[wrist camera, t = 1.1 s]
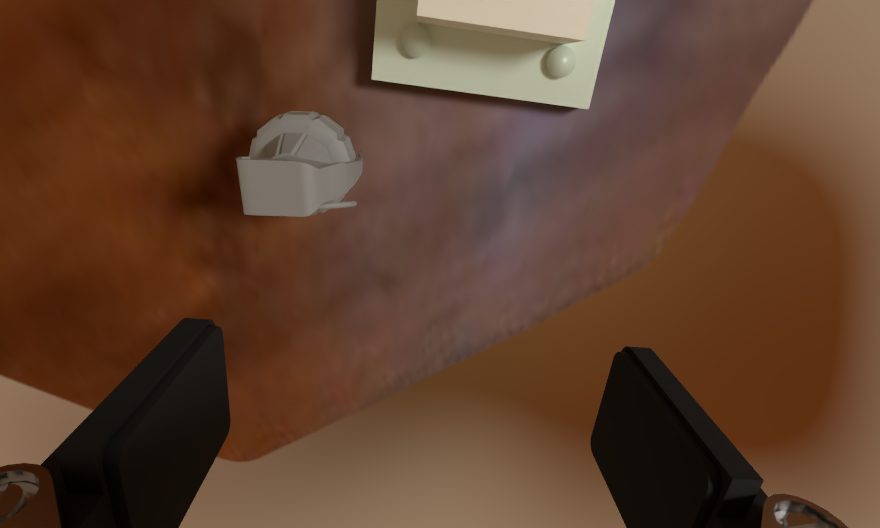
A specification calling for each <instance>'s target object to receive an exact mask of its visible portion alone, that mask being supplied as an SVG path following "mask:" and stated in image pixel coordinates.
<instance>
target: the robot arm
mask: <svg viewBox="0 0 880 528" xmlns="http://www.w3.org/2000/svg"><path fill="white" fill-rule="evenodd" d="M229 428H230V410H229V398H228V387H227V376H226V365H225V354H224V343H223V332H222V329H221V327H218V326H215V324H214V322H213V321H212V320H207V319H192V318H184V319H183V320H181V321H180V322H179V323H178V324H177V326H176V327H175V328H174V329H173V330H172V331H171V332H170V333H169V334H168V335H167V336H166V337H165V338H164V339H163V340H162V341H161V342H160V343H159V344H158V345H157V346H156V347H155V348H154V349H153V350H152V351H151V352H150V353H149V354H148V355H147V356H146V357H145V358H144V359H143V360H142V361H141V363H140V364H139V365H138V366H137V367H136V368H135V369H134V370H133V371H132V372H131V373H130V374H129V375H128V376H127V377H126V378H125V379H124V380H123V381H122V382H121V383H120V384H119V385H118V386H117V387H116V388H115V389H114V390H113V391H112V392H111V393H110V394H109V395H108V396H107V397H106V398H105V399H104V400H103V402H102V403H101V404H100V405H99V406H98V407H97V408H96V409H95V410H94V411H93V412H92V413H91V414H90V415H89V416H88V417H87V418H86V419H85V420H84V421H83V422H82V423H81V424H80V425H79V426H78V427H77V428H76V429H75V430H74V431H73V432H72V433H71V434H70V435H69V436H68V437H67V439H66V440H65V441H64V442H63V443H62V444H61V445H60V446H59V447H58V448H57V449H56V450H55V451H54V452H53V453H52V454H51V455H50V456H49V457H48V458H47V459H46V460H45V461H44V462H43V463H42V464H41V465H36V464H27V463H22V464H13V465H6V466H3V467H0V528H179V526H180V523H181V522H182V520H183V518H184V516H185V514H186V512H187V510H188V509H189V507H190V505H191V503H192V501H193V499H194V498H195V496H196V494H197V492H198V490H199V488H200V486H201V484H202V483H203V480H204V479H205V477H206V475H207V473H208V471H209V469H210V467H211V466H212V464H213V462H214V460H215V458H216V456H217V454H218V452H219V451H220V449H221V447H222V445H223V443H224V441H225V439H226V437H227V435H228V432H229ZM591 450H592V453H593V456H594V458H595V460H596V462H597V464H598V466H599V469H600V471H601V473H602V475H603V477H604V480H605V481H606V484H607V486H608V488H609V490H610V493H611V494H612V497H613V499H614V501H615V503H616V506H617V508H618V510H619V512H620V514H621V516H622V519H623V521H624V523H625V525H626V527H627V528H848V527H847V526H846V525H845V524H844V523H843V522H842V521H841V520H840V519H838V518H837V517H835V516H834V515H833V514H831V513H830V512H829V511H827V510H825V509H824V508H822V507H820V506H818V505H817V504H815V503H813V502H811V501H808V500H806V499H803V498H800V497H798V496H794V495H789V494H773V495H771V496H769V497H768V496H767V495H766V494H765V493H764V492H763V490H762V489H761V488H760V487H761V485H762V483H763V479H762V478H761V477H760V476H759V474H758V473H757V472H756V471H755V470H754V469H753V467H752V466H751V465H750V464H749V463H748V462H747V461H746V459H745V458H744V457H743V456H742V455H741V453H740V452H739V451H738V450H737V449H736V448H735V446H734V445H733V444H732V443H731V442H730V441H729V439H728V438H727V437H726V436H725V435H724V433H723V432H722V431H721V430H720V429H719V428H718V426H717V425H716V424H715V423H714V422H713V421H712V419H711V418H710V417H709V416H708V415H707V414H706V412H705V411H704V410H703V409H702V408H701V406H700V405H699V404H698V403H697V402H696V401H695V399H694V398H693V397H692V396H691V395H690V394H689V392H688V391H687V390H686V389H685V388H684V387H683V386H682V384H681V383H680V382H679V381H678V380H677V378H676V377H675V376H674V375H673V374H672V373H671V372H670V370H669V369H668V368H667V367H666V366H665V364H664V363H663V362H662V361H661V360H660V359H659V357H658V356H657V355H656V354H655V353H654V351H653V350H651V349H650V348H638V347H624V348H623V350H622V351H621V352H617V353H616V354H615V356H614V359H613V362H612V366H611V369H610V373H609V376H608V380H607V383H606V387H605V391H604V394H603V398H602V401H601V404H600V408H599V412H598V415H597V419H596V422H595V425H594V429H593V432H592V436H591Z"/></svg>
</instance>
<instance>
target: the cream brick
mask: <svg viewBox="0 0 880 528" xmlns="http://www.w3.org/2000/svg"><path fill="white" fill-rule="evenodd" d="M593 3H594V0H418V8H417V21H418V23H423V24H430V25H437V26H444V27H450V28H457V29H464V30H471V31H477V32H484V33H491V34H497V35H504V36H511V37H518V38H524V39H531V40H538V41H544V42H551V43H558V44H569V43H574V42H580V41H585V38H586V34H587V29H588V25H589V21H590V16H591V12H592V7H593Z"/></svg>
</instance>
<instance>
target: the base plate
mask: <svg viewBox="0 0 880 528" xmlns="http://www.w3.org/2000/svg"><path fill="white" fill-rule="evenodd" d="M614 3H615V0H594V3H593V7H592V12H591V16H590V21H589V25H588V29H587V34H586V38H585V41H580V42H574V43H569V44H558V43H551V42H544V41H538V40H531V39H524V38H518V37H511V36H504V35H497V34H491V33H484V32H477V31H471V30H464V29H457V28H450V27H444V26H437V25H430V24H423V23H418V21H417V8H418V0H377V4H376V19H375V34H374V49H373V64H372V79H371V80H379V81H386V82H393V83H400V84H408V85H415V86H422V87H429V88H437V89H444V90H451V91H459V92H466V93H473V94H480V95H488V96H495V97H502V98H509V99H517V100H524V101H531V102H539V103H546V104H553V105H560V106H568V107H575V108H582V109H589V106H590V102H591V97H592V93H593V89H594V85H595V81H596V77H597V73H598V69H599V65H600V60H601V56H602V52H603V48H604V44H605V40H606V36H607V32H608V27H609V23H610V19H611V15H612V11H613V7H614Z"/></svg>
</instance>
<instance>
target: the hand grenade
mask: <svg viewBox="0 0 880 528" xmlns="http://www.w3.org/2000/svg"><path fill="white" fill-rule="evenodd" d="M355 159H356V154H355V151H354V148H353V146H352V143H351V140H350V137H349V136H348V135H345V134H344V129H343V128H342V127H341V126H340V125H338V124H337V123H336V122H334V121H333V120H332V119H330V118H329V117H328V116H325V115H322V116H320V115H319V114H318V113H317V112H305V111H291V112H290V111H289V112H287V113H286V114H280V115H278V116H276V117H274V118H273V119H272V120H271V121H269V122H268V123H267V124H265V125H264V126H263V127H262V128H260V129H259V130H258V131H257V136H256V137H255V138H253V139H252V143H251V148H250V153H249V156H245V157H237V158H236V162H237V169H238V176H239V183H240V190H241V197H242V205H243V212H244V214H246V215H264V216H297V217H305V216H309V215H316V214H317V213H318V212H323V213H324V212H325V211H327V210H328V209H335V208H346V207H355V206H356V205H357V203H356V201H347V202H340V201H341V200H342V199H343V198H344V196H345V194H346V193H347V192H348V191H349V190H350V188H351V187H352V186H353V185H354V184H355V183H356V182H357V180H358V178H359V177H360V175H361V174H362V171H363V154H362V152H361V151H359V159H358V160H357V161H355Z"/></svg>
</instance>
